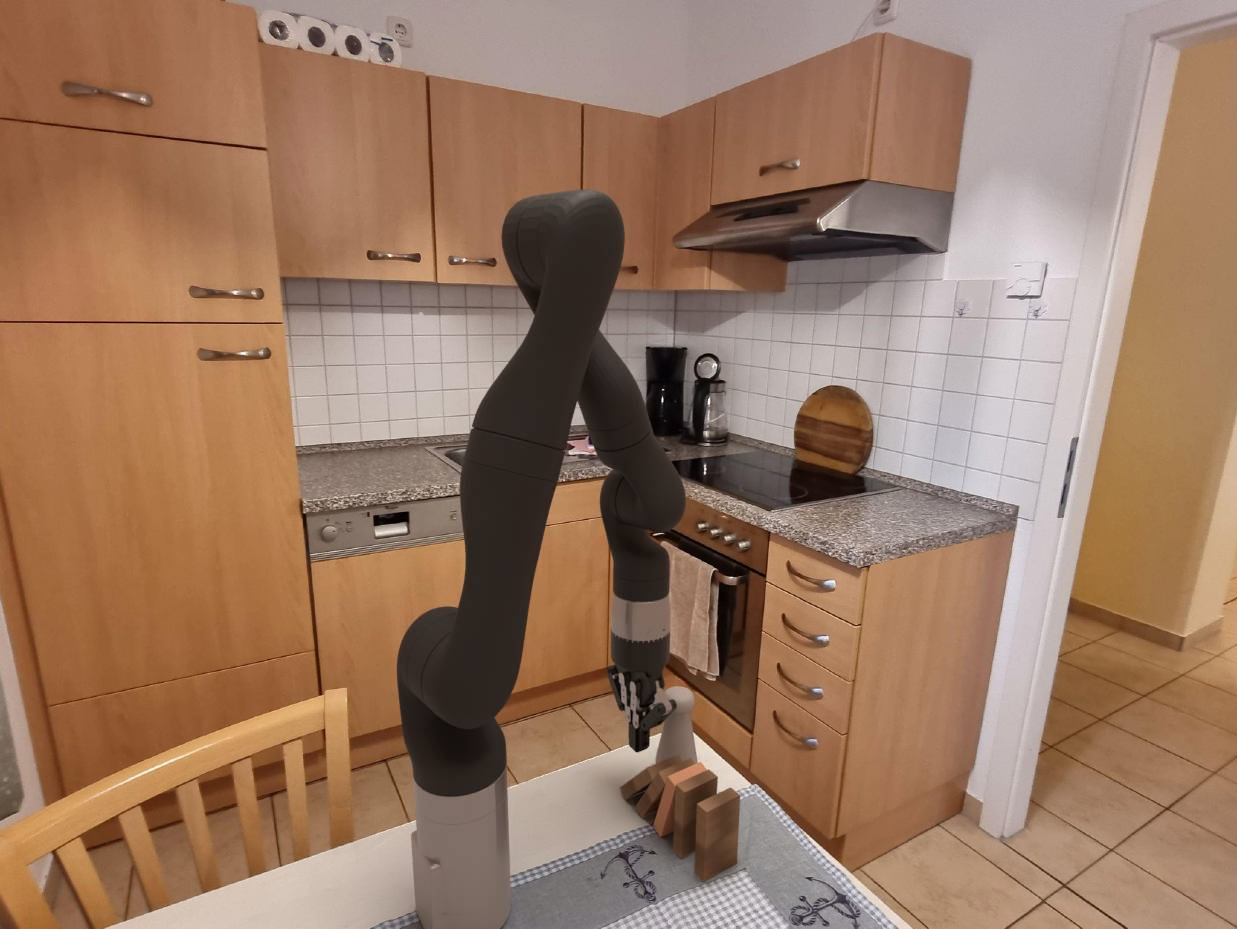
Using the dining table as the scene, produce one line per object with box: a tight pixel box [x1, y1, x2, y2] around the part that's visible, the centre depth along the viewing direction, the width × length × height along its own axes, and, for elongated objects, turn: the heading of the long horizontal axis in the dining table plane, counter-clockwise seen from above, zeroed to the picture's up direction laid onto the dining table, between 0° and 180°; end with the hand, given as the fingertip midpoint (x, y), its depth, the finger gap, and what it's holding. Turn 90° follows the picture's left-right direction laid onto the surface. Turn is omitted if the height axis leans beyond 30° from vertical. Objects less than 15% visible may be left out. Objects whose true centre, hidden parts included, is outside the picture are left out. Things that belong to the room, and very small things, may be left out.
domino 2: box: [635, 758, 694, 819], centre depth 86 cm, size 5×2×9 cm, turn 123°
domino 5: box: [694, 786, 741, 883], centre depth 78 cm, size 5×2×9 cm, turn 123°
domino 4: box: [672, 769, 719, 860], centre depth 81 cm, size 5×2×9 cm, turn 123°
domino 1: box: [619, 754, 682, 801], centre depth 88 cm, size 5×2×9 cm
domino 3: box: [653, 761, 708, 838], centre depth 83 cm, size 5×2×9 cm, turn 123°
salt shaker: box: [655, 685, 699, 764], centre depth 93 cm, size 6×6×13 cm
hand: (638, 747), depth 90 cm, fingers closed
